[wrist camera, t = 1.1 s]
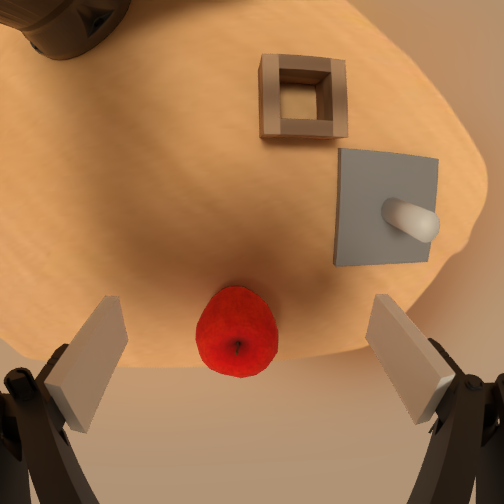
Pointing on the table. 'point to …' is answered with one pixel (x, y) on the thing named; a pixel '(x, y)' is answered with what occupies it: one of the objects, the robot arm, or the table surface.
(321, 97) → the frame
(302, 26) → the table surface
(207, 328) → the apple
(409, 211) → the stand
